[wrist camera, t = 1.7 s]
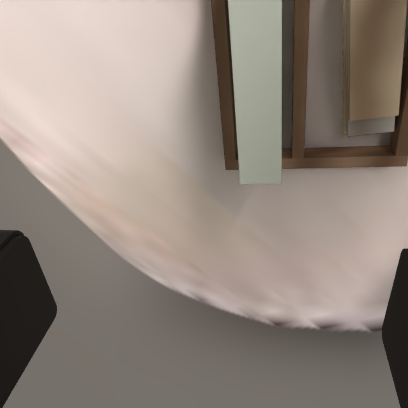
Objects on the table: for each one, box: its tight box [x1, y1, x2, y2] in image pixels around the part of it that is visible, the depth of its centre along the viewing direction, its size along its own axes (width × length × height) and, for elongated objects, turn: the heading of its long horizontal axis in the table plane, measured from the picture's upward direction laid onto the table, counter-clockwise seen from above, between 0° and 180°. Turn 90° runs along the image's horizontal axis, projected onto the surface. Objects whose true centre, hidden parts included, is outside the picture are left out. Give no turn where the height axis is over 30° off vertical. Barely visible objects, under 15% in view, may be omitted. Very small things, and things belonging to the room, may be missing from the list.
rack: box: [211, 0, 408, 170], centre depth 30 cm, size 16×19×2 cm
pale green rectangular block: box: [228, 0, 282, 184], centre depth 28 cm, size 3×14×9 cm, turn 6°
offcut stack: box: [343, 0, 407, 137], centre depth 29 cm, size 4×14×3 cm, turn 11°
